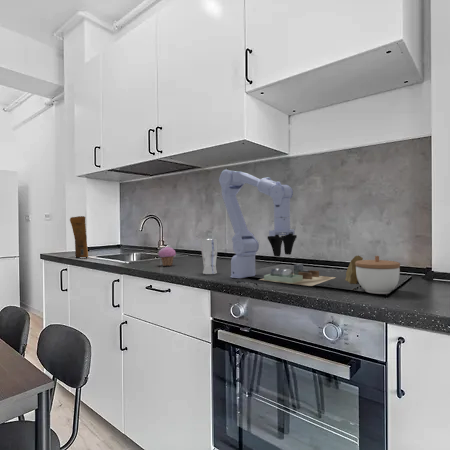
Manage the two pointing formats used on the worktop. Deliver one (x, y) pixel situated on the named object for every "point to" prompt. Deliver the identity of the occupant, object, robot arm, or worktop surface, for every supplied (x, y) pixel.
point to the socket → (309, 274)
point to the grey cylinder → (281, 272)
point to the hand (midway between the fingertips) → (282, 255)
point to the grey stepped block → (299, 269)
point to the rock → (352, 270)
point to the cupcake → (167, 255)
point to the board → (309, 280)
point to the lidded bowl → (377, 275)
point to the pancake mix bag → (79, 236)
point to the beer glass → (209, 255)
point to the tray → (284, 278)
